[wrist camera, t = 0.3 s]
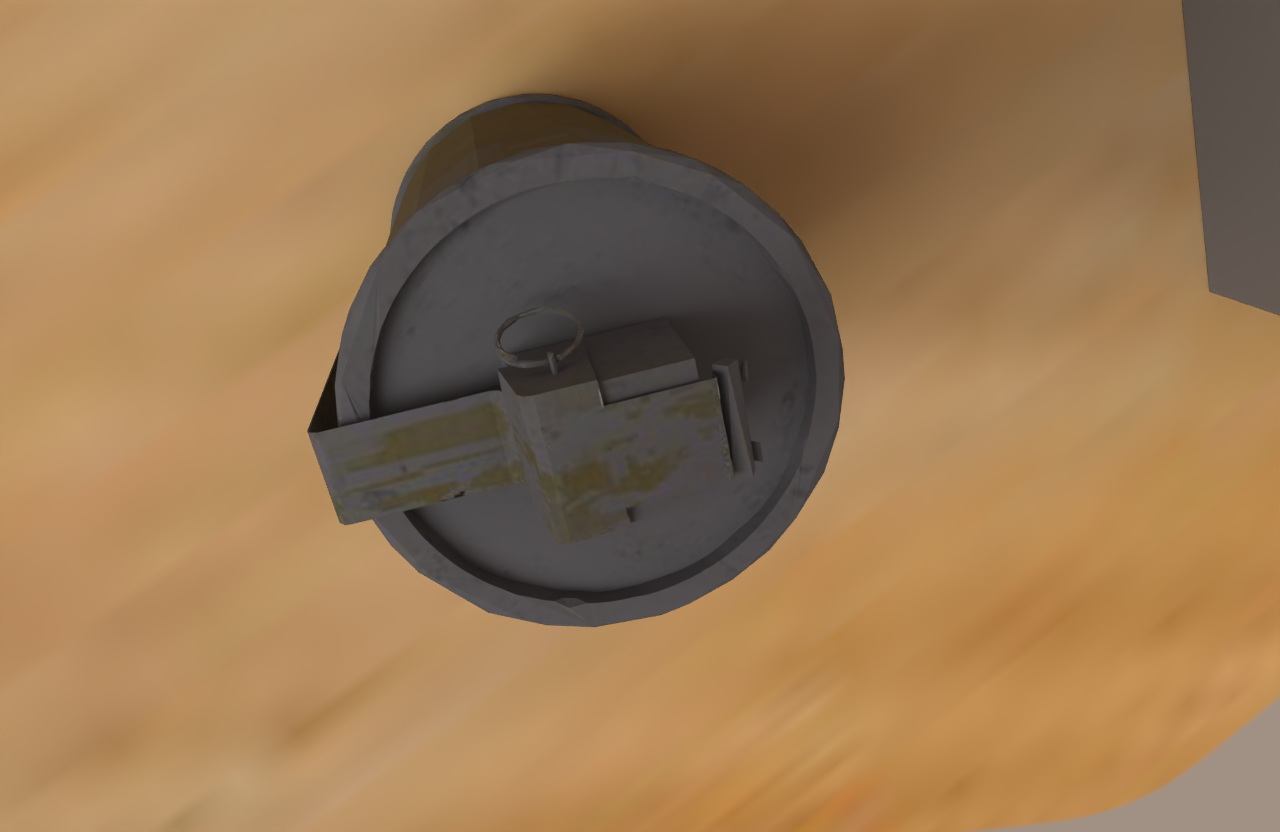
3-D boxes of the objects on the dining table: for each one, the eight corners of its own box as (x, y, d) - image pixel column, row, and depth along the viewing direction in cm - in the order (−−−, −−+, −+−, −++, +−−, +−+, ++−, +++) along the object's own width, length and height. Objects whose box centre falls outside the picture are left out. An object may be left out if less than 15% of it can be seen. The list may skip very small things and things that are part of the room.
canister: (650, 64, 35) (862, 94, 17) (703, 345, 39) (922, 623, 20) (339, 134, 34) (196, 247, 16) (425, 414, 38) (392, 770, 20)
